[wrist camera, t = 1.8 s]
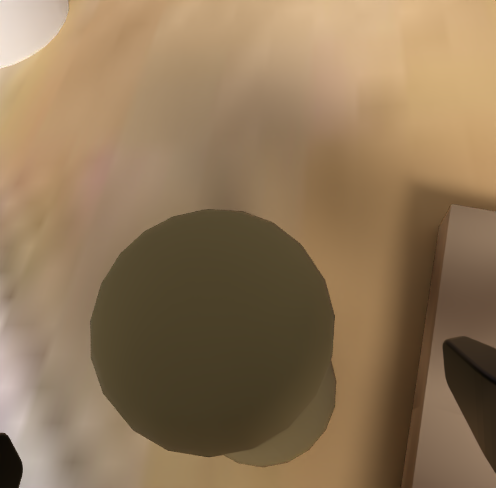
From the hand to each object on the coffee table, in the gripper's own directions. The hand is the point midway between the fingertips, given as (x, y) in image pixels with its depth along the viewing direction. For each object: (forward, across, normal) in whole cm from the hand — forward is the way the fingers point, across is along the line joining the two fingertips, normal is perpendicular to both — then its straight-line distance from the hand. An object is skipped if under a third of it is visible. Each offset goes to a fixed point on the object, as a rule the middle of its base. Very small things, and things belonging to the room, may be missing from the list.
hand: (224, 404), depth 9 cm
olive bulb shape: (+8, 0, +6) cm, 10 cm away
